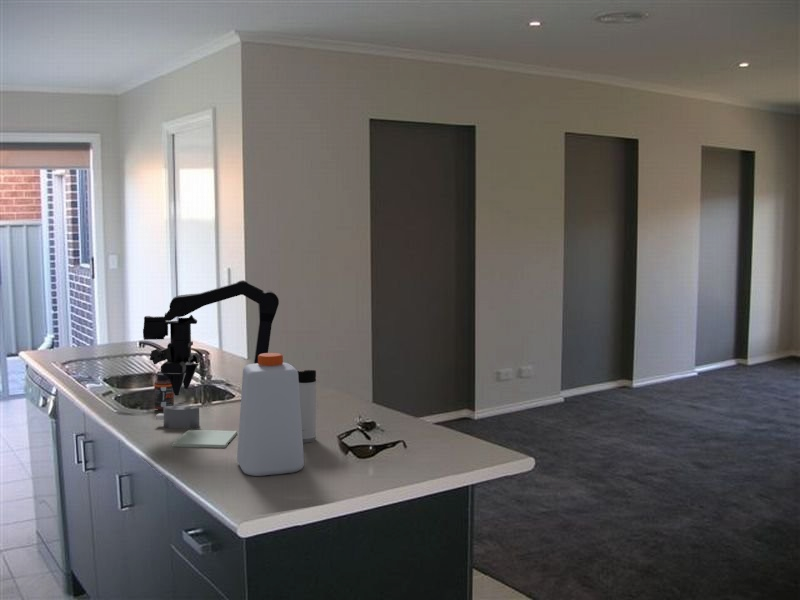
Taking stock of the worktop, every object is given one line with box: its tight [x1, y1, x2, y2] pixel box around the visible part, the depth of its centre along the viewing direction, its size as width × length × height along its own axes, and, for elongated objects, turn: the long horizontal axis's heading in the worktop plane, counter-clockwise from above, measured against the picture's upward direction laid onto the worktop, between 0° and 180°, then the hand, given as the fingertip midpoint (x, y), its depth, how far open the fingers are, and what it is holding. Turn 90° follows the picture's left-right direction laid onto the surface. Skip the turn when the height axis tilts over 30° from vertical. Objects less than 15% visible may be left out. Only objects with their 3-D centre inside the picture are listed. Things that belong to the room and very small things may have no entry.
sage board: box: [172, 429, 238, 449], centre depth 215 cm, size 14×14×1 cm
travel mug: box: [297, 369, 317, 444], centre depth 215 cm, size 6×7×20 cm
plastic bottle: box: [236, 352, 305, 477], centre depth 191 cm, size 15×15×28 cm
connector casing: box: [155, 405, 200, 429], centre depth 229 cm, size 12×4×6 cm, turn 89°
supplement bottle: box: [153, 372, 175, 411], centre depth 250 cm, size 6×6×11 cm
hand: (181, 391), depth 228 cm, fingers open, 9 cm apart
